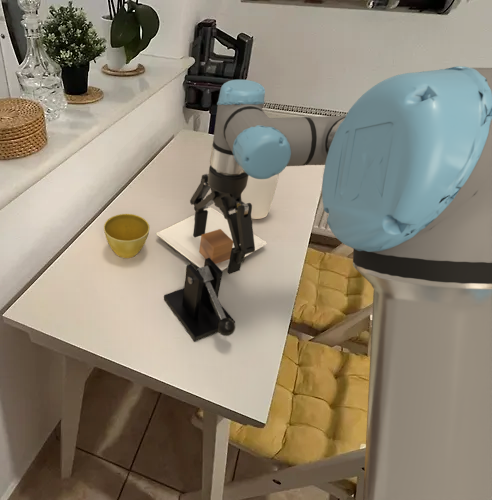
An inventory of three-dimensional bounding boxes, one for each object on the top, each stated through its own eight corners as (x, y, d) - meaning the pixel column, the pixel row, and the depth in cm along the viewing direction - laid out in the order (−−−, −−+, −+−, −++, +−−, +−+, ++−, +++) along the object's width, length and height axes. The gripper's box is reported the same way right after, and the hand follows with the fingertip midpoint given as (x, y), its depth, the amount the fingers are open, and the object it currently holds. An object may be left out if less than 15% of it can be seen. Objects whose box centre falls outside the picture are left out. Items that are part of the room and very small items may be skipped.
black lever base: (234, 325, 83) (244, 282, 75) (194, 342, 80) (201, 298, 72) (200, 286, 91) (207, 243, 84) (163, 299, 88) (166, 255, 80)
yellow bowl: (156, 248, 100) (158, 223, 96) (132, 272, 94) (132, 247, 89) (122, 232, 105) (121, 208, 100) (96, 254, 98) (94, 230, 94)
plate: (154, 239, 103) (155, 232, 102) (209, 212, 112) (210, 205, 111) (210, 283, 92) (211, 275, 91) (266, 249, 101) (268, 242, 100)
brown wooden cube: (230, 259, 95) (233, 241, 92) (211, 265, 93) (214, 247, 90) (217, 246, 98) (220, 228, 95) (198, 252, 96) (201, 234, 93)
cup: (234, 220, 109) (244, 171, 100) (236, 202, 116) (245, 155, 107) (268, 225, 108) (281, 176, 99) (268, 207, 114) (280, 159, 105)
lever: (233, 333, 78) (241, 330, 75) (218, 339, 77) (226, 336, 74) (204, 269, 81) (211, 263, 78) (190, 273, 80) (196, 268, 77)
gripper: (289, 194, 74) (264, 283, 87) (210, 136, 91) (199, 218, 104) (254, 205, 71) (234, 294, 85) (179, 143, 88) (172, 225, 102)
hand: (215, 252), depth 95 cm, fingers open, 13 cm apart
